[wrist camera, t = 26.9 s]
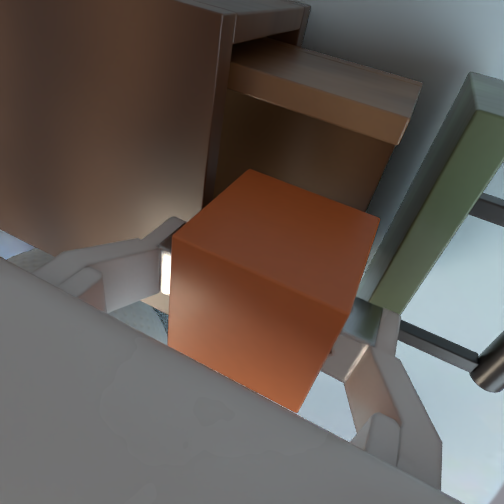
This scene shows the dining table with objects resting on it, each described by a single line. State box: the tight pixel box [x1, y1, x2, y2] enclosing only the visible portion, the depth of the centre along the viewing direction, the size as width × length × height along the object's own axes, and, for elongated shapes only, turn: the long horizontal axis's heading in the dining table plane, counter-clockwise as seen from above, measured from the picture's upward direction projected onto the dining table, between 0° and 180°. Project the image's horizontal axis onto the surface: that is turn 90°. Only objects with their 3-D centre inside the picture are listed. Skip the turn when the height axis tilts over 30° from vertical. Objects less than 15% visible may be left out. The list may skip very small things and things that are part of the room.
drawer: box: [213, 37, 504, 393], centre depth 15 cm, size 18×11×6 cm, turn 79°
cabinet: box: [0, 0, 311, 315], centre depth 18 cm, size 15×13×8 cm
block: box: [167, 169, 380, 413], centre depth 11 cm, size 4×4×4 cm
